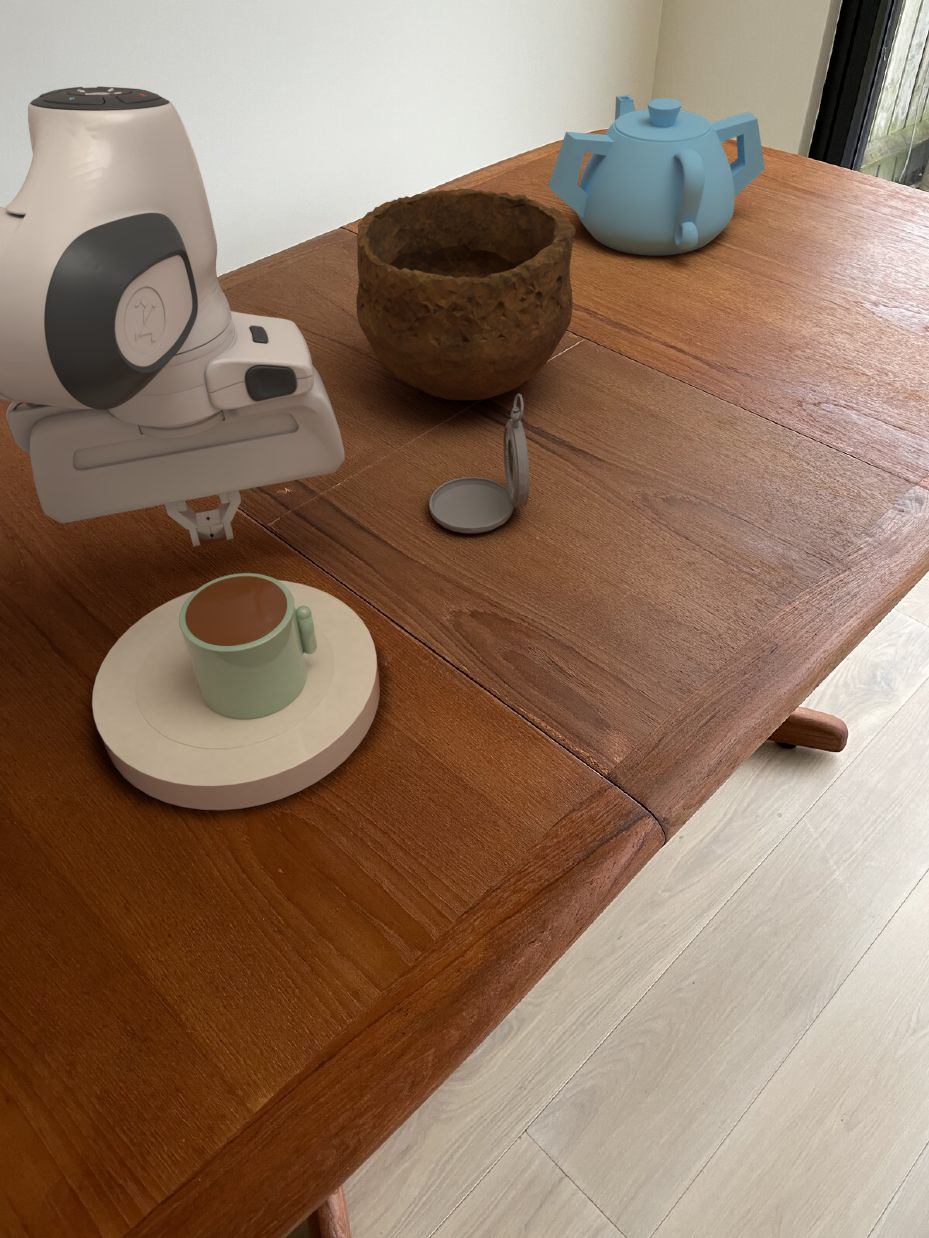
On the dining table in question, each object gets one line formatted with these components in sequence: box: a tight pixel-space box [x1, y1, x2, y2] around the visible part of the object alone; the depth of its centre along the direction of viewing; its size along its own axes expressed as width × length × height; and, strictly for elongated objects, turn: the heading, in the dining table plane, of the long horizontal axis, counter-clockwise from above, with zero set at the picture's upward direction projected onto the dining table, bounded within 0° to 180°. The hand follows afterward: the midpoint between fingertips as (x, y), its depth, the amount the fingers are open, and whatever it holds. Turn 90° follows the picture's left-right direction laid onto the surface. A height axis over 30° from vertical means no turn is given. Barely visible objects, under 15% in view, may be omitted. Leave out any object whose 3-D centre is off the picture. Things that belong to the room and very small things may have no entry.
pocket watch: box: [428, 393, 531, 534], centre depth 77 cm, size 8×8×10 cm
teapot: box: [547, 94, 766, 257], centre depth 113 cm, size 19×19×14 cm
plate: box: [91, 579, 381, 811], centre depth 66 cm, size 18×18×2 cm
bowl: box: [356, 188, 577, 401], centre depth 89 cm, size 19×19×15 cm
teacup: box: [179, 572, 317, 719], centre depth 62 cm, size 8×7×6 cm
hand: (213, 538), depth 73 cm, fingers closed
